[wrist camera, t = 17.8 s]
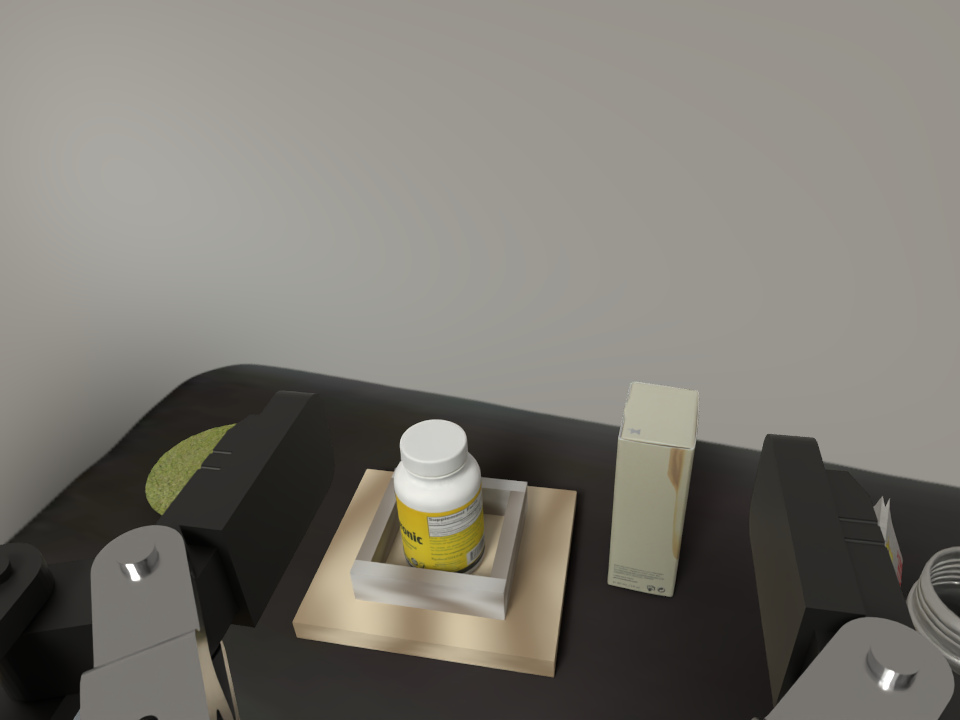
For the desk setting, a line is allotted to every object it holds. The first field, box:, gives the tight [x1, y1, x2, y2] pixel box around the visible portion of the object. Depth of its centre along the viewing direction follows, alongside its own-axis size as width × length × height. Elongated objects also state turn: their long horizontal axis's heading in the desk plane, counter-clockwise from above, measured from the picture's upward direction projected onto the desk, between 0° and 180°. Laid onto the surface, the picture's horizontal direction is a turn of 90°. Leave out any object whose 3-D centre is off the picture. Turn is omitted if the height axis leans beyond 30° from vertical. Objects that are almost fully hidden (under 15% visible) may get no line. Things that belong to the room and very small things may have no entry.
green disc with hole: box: [145, 424, 236, 515], centre depth 57 cm, size 11×11×2 cm
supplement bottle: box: [394, 420, 485, 575], centre depth 46 cm, size 5×5×10 cm
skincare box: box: [608, 382, 699, 597], centre depth 46 cm, size 6×4×12 cm
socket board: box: [293, 468, 577, 677], centre depth 48 cm, size 16×14×4 cm
